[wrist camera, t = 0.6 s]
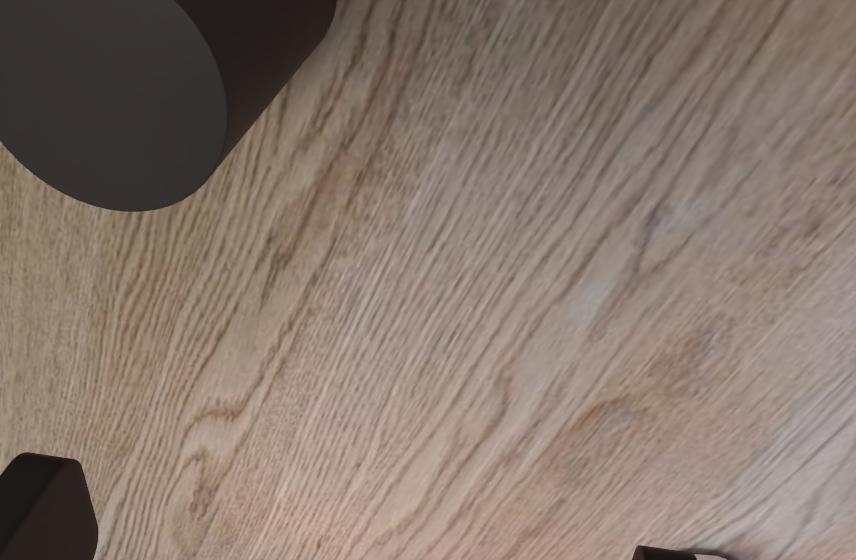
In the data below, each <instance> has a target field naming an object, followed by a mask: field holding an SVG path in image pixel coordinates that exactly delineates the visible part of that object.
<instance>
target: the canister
mask: <svg viewBox="0 0 856 560" xmlns="http://www.w3.org/2000/svg"><path fill="white" fill-rule="evenodd" d="M336 2H337V0H0V141H1V142H2V143H3V145H4V146H5V147H6V148H7V149H8V151H9V152H10V153H11V154H12V155H13V156H14V157H15V158H16V159H17V160H18V161H19V162H20V163H21V164H22V165H24V166H25V167H26V168H27V169H28V170H29V171H31V172H32V173H33V174H34V175H36V176H37V177H38V178H40V179H41V180H43V181H44V182H45V183H47V184H48V185H50V186H52V187H53V188H55V189H57V190H58V191H60V192H62V193H64V194H66V195H68V196H70V197H72V198H74V199H77V200H79V201H82V202H85V203H87V204H90V205H93V206H97V207H101V208H105V209H110V210H117V211H130V212H141V211H149V210H156V209H160V208H163V207H167V206H170V205H173V204H175V203H177V202H180V201H182V200H184V199H185V198H187V197H188V196H190V195H191V194H193V193H195V192H196V191H197V190H198V189H199V188H200V187H201V186H202V185H203V184H205V182H206V181H207V180H208V179H209V177H210V176H211V175H212V174H213V173H214V171H215V170H216V169H217V168H218V166H219V165H220V164H221V163H222V162H223V160H224V159H225V158H226V157H227V155H228V154H229V153H230V152H231V150H232V149H233V148H234V147H235V146H236V144H237V143H238V142H239V141H240V139H241V138H242V137H243V136H244V135H245V133H246V132H247V131H248V130H249V128H250V127H251V126H252V125H253V124H254V122H255V121H256V120H257V119H258V117H259V116H260V115H261V114H262V112H263V111H264V110H265V109H266V108H267V106H268V105H269V104H270V103H271V101H272V100H273V99H274V98H275V97H276V95H277V94H278V93H279V92H280V90H281V89H282V88H283V87H284V86H285V84H286V83H287V82H288V81H289V79H290V78H291V77H292V76H293V75H294V73H295V72H296V71H297V70H298V68H299V67H300V66H301V65H302V63H303V62H304V61H305V60H306V59H307V57H308V56H309V55H310V54H311V52H312V51H313V50H314V49H315V48H316V46H317V45H318V44H319V43H320V41H321V40H322V39H323V37H324V36H325V34H326V32H327V30H328V29H329V27H330V24H331V22H332V19H333V16H334V12H335V8H336Z"/></svg>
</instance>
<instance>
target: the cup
mask: <svg viewBox="0 0 856 560" xmlns="http://www.w3.org/2000/svg"><path fill="white" fill-rule="evenodd" d="M694 555H695V556H696V558H697V560H727V559H724V558H721V557H719V556H711V555H699V554H694Z"/></svg>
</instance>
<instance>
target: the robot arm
mask: <svg viewBox="0 0 856 560" xmlns="http://www.w3.org/2000/svg"><path fill="white" fill-rule="evenodd" d="M97 543H98V525H97V521H96V517H95V513H94V510H93V506H92V502H91V499H90V495H89V491H88V487H87V484H86V480H85V476H84V473H83V469H82V466H81V464H80V463H79V462H78V461H77V460H75V459H69V458H62V457H56V456H49V455H42V454H35V453H29V452H25V453H22V454H20V455H18V456H17V457H16V458H14V459H13V460H12V461H11V463H10V464H9V465H8V466H7V468H6V469H5V470H4V472H3V473H2V474H1V475H0V560H93V558H94V555H95V552H96V548H97ZM632 560H697V558H696V556H695V555H694V554H693V553H688V552H681V551H675V550H668V549H661V548H654V547H648V546H641V545H639V546H637V548H636V550H635V552H634V555H633V558H632Z"/></svg>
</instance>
